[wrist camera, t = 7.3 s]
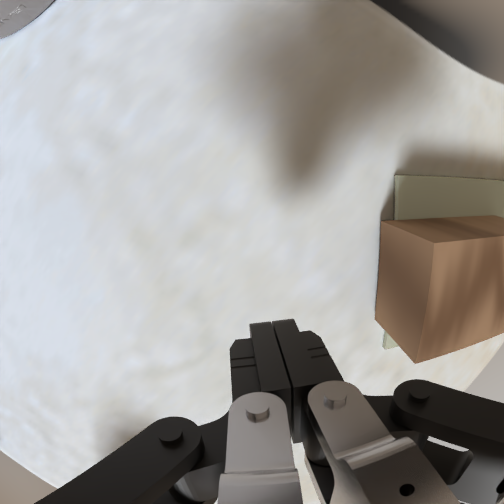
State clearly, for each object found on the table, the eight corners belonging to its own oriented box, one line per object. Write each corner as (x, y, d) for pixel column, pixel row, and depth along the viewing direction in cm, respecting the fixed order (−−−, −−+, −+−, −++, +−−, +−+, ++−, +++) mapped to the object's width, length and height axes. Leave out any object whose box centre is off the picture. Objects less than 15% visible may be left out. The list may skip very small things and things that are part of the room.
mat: (394, 175, 16) (398, 175, 15) (514, 181, 17) (518, 182, 16) (382, 346, 19) (385, 349, 18) (496, 314, 20) (499, 316, 19)
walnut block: (434, 243, 11) (545, 231, 12) (381, 221, 16) (494, 215, 17) (414, 363, 13) (527, 321, 13) (374, 319, 18) (483, 294, 18)
